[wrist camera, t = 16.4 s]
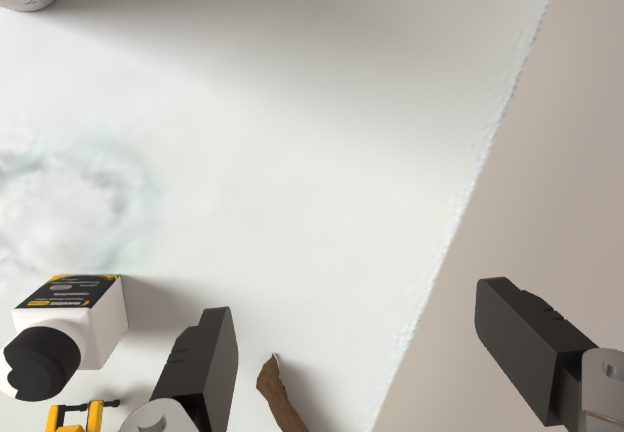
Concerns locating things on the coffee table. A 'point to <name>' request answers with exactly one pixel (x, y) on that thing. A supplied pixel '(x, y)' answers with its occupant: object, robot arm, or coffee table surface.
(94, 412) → the robot dog
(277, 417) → the wood plank
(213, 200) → the coffee table surface
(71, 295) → the medicine bottle
